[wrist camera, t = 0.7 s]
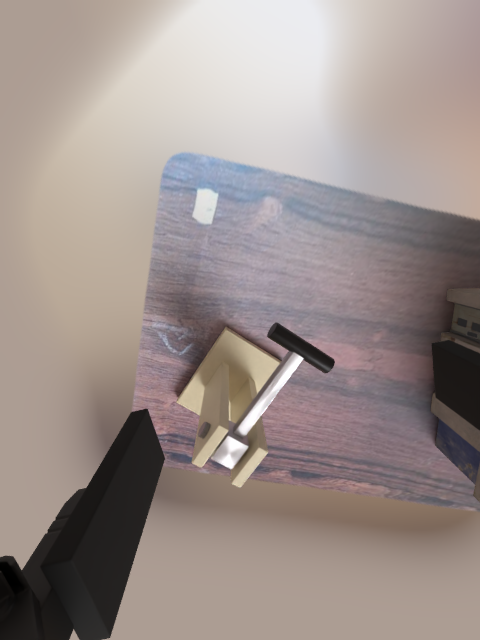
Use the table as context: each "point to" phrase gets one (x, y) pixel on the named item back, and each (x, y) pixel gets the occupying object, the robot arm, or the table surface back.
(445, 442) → the building
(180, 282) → the table surface
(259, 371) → the bracket
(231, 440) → the lever
